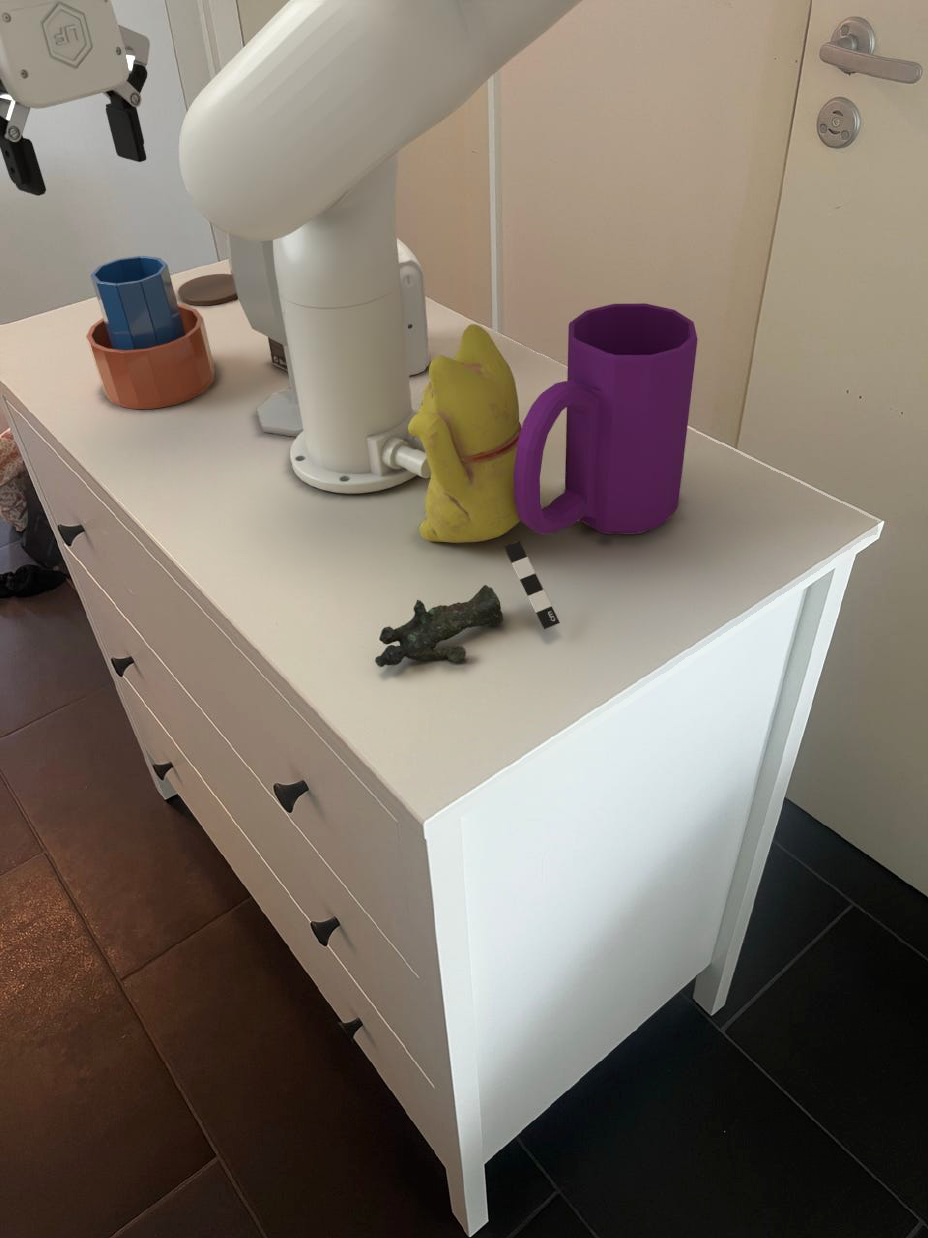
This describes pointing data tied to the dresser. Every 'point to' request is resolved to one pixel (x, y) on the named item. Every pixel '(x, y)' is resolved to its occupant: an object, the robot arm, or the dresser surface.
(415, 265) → the photo printer
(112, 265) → the blue cup
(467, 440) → the figurine
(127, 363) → the orange bowl
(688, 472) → the dresser surface
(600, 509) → the mug
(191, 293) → the coaster
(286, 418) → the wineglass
